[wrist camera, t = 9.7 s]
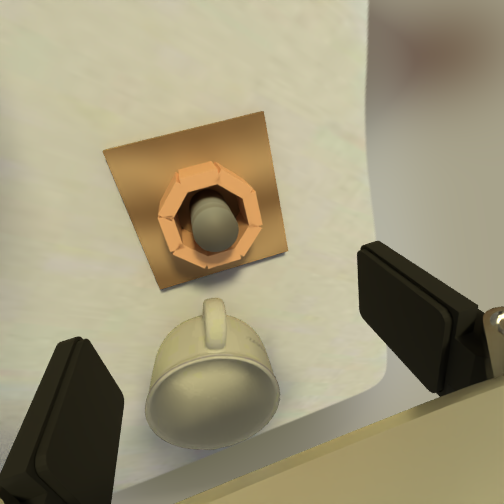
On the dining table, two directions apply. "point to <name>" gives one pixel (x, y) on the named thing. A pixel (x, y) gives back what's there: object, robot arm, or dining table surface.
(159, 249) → the post plate
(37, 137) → the dining table surface
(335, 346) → the dining table surface
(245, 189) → the ring
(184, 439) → the teacup
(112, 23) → the dining table surface
